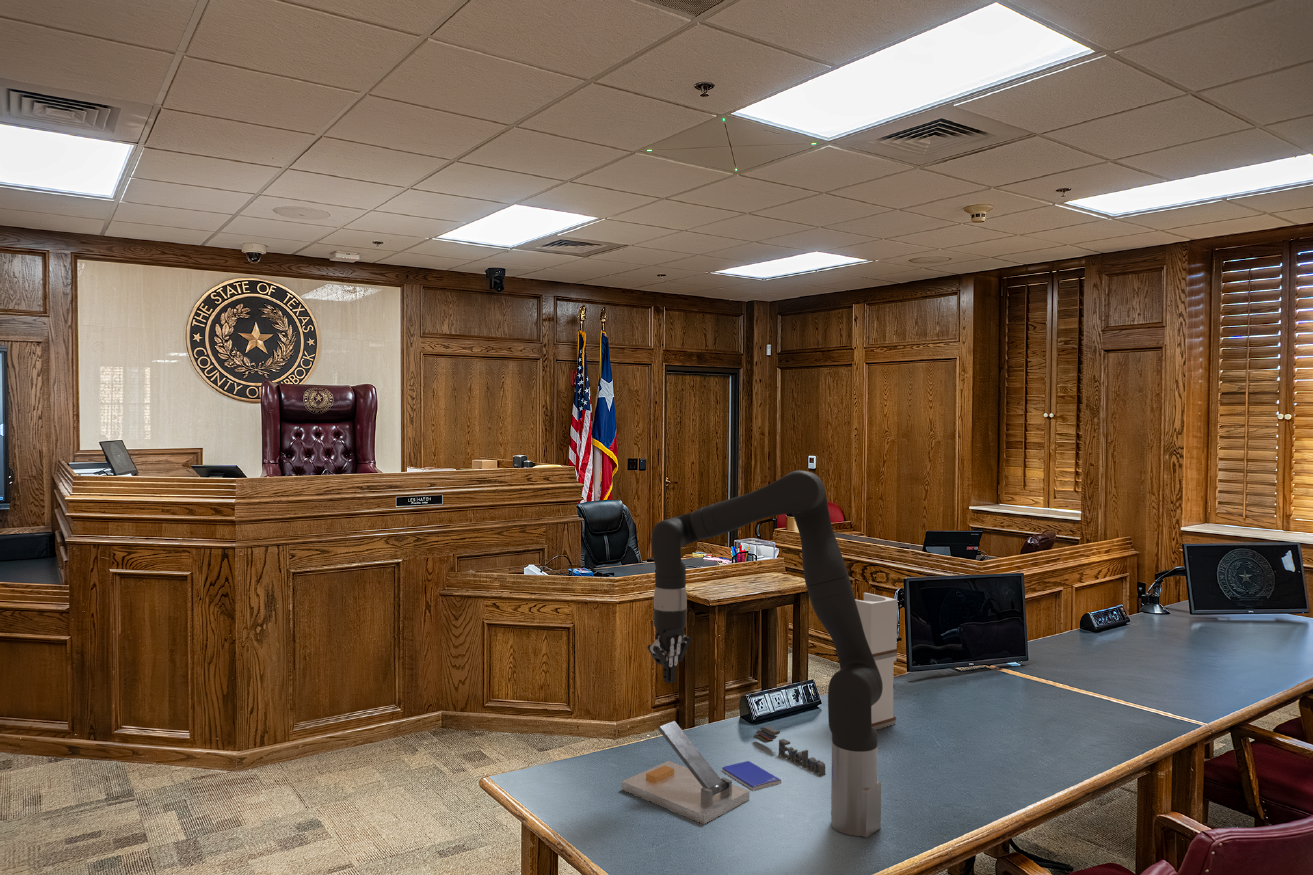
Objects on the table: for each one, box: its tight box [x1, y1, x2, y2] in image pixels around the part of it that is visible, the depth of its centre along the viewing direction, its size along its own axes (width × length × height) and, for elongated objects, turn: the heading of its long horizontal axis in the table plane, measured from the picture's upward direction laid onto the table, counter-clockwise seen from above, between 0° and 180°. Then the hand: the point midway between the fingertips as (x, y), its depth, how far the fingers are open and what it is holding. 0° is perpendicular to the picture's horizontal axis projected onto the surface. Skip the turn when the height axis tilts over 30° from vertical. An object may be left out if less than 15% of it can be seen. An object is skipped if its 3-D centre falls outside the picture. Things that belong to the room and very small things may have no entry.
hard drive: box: [721, 760, 782, 791], centre depth 196 cm, size 2×8×12 cm
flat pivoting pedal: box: [657, 720, 727, 796], centre depth 185 cm, size 19×5×2 cm
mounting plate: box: [621, 760, 750, 825], centre depth 186 cm, size 24×16×5 cm, turn 48°
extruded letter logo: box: [752, 726, 826, 776], centre depth 208 cm, size 25×2×6 cm, turn 33°
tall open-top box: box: [838, 592, 898, 731], centre depth 234 cm, size 11×11×35 cm
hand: (669, 681), depth 190 cm, fingers closed
